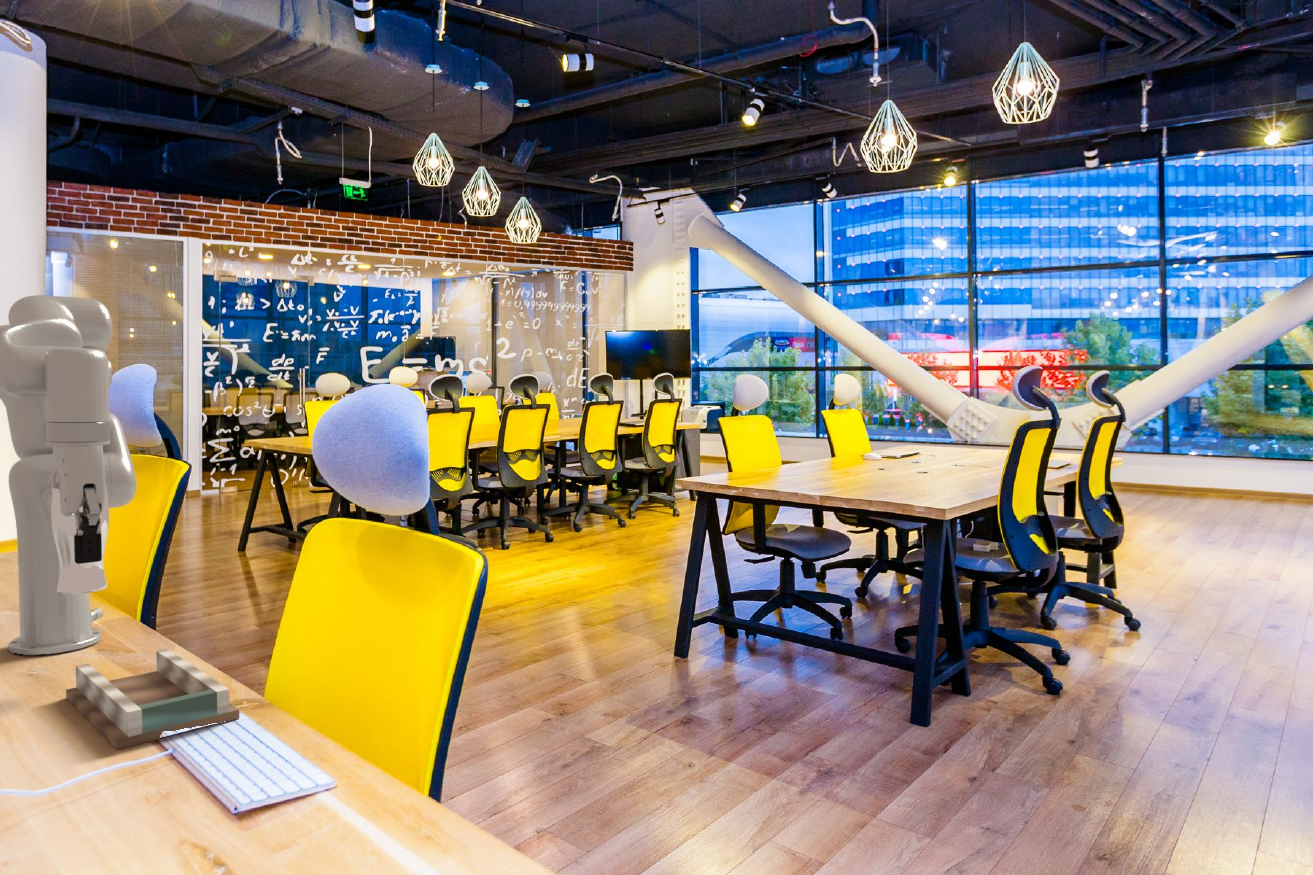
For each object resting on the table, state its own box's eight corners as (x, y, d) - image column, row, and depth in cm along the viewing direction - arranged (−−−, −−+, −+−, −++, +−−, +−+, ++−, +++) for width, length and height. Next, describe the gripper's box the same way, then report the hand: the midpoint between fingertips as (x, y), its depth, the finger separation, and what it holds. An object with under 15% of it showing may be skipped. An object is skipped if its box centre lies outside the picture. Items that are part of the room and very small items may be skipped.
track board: (66, 698, 120) (65, 668, 119) (176, 674, 130) (176, 647, 130) (117, 749, 103) (116, 715, 103) (239, 718, 113) (238, 686, 113)
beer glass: (121, 587, 127) (119, 485, 126) (72, 597, 121) (69, 490, 120) (91, 581, 130) (89, 482, 129) (42, 591, 124) (39, 487, 123)
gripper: (33, 432, 127) (36, 552, 128) (62, 438, 115) (65, 572, 116) (92, 430, 133) (95, 546, 134) (126, 437, 121) (129, 564, 122)
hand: (81, 557), depth 125 cm, fingers closed on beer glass, 6 cm apart
